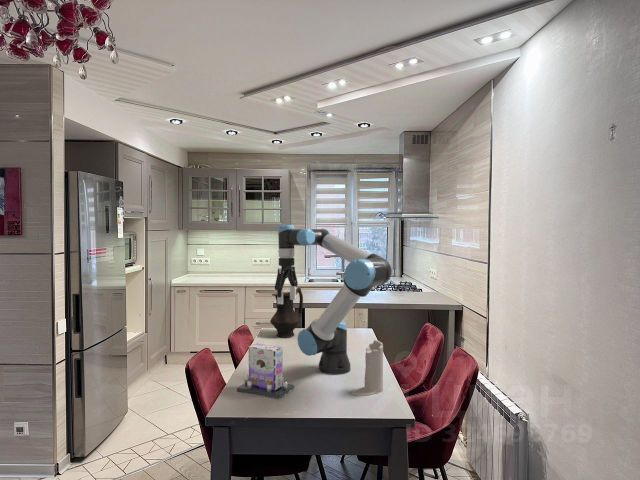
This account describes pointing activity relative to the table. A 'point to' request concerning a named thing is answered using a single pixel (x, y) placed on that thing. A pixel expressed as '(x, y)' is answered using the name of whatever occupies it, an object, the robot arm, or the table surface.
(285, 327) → the jug
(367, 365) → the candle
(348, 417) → the table surface
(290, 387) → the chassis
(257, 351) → the candy box
